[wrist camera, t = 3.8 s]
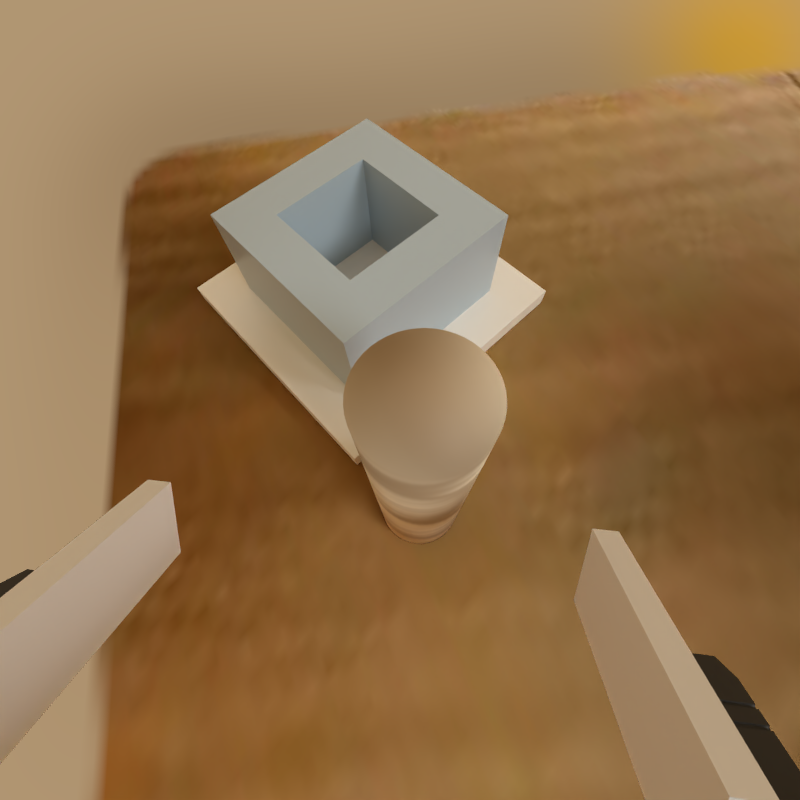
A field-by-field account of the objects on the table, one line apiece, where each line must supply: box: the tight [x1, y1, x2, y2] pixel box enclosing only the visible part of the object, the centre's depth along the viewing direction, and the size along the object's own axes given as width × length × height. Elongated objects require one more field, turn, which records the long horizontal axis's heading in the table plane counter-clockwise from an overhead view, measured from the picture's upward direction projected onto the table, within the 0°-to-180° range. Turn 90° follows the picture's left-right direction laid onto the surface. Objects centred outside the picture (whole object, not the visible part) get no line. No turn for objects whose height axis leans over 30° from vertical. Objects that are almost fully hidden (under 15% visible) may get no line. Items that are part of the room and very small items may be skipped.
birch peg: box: [343, 328, 507, 544], centre depth 17 cm, size 4×4×14 cm
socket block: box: [197, 119, 546, 465], centre depth 26 cm, size 16×16×7 cm
